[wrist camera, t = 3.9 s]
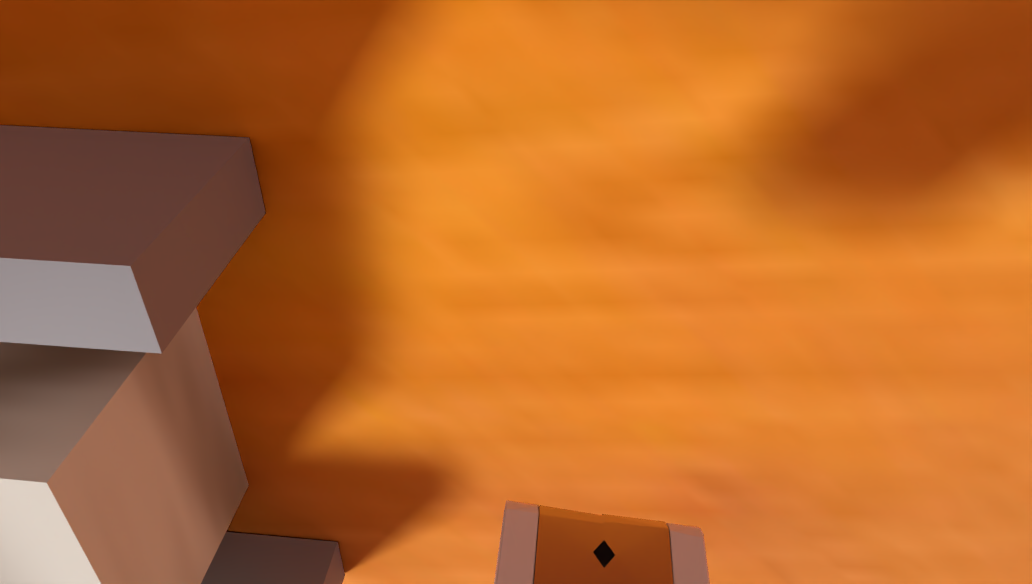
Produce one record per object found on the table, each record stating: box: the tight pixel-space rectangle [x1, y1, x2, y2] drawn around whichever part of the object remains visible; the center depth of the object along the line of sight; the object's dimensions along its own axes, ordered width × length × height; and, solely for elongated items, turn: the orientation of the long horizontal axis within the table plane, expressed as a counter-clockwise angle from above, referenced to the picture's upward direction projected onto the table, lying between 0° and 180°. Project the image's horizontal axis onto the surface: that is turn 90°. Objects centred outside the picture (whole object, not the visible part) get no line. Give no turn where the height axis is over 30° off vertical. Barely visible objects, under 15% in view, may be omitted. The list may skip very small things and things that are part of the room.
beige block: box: [0, 308, 249, 584], centre depth 15 cm, size 6×6×5 cm
